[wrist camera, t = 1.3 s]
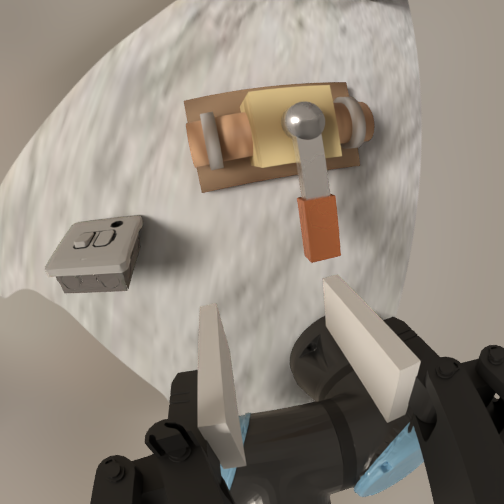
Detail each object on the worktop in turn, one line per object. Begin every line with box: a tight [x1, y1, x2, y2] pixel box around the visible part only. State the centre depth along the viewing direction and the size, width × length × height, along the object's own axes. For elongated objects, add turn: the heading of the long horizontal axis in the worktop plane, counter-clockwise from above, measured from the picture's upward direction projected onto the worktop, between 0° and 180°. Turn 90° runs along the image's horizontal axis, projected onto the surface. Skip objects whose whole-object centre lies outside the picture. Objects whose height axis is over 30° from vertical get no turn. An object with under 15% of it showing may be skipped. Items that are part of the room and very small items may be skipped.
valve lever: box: [281, 102, 341, 263], centre depth 22 cm, size 12×3×2 cm, turn 10°
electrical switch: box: [45, 216, 143, 293], centre depth 27 cm, size 9×5×9 cm, turn 92°
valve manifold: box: [184, 82, 374, 193], centre depth 26 cm, size 10×18×9 cm, turn 100°
